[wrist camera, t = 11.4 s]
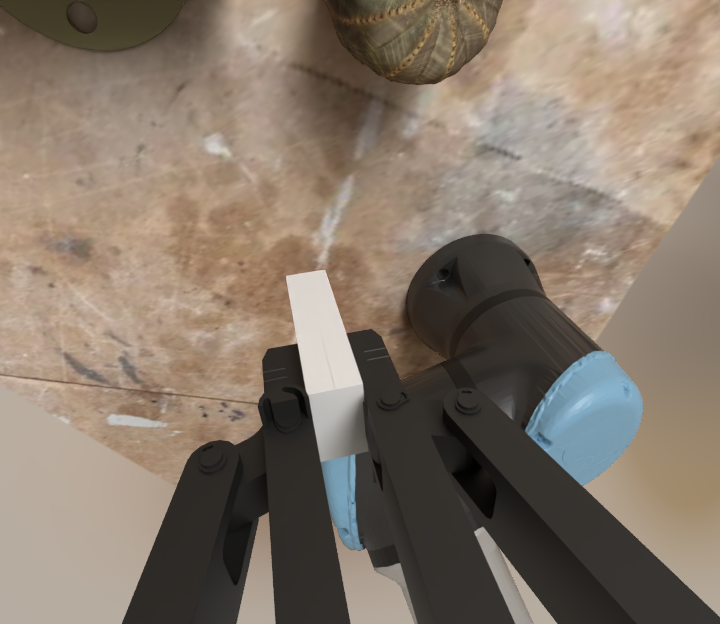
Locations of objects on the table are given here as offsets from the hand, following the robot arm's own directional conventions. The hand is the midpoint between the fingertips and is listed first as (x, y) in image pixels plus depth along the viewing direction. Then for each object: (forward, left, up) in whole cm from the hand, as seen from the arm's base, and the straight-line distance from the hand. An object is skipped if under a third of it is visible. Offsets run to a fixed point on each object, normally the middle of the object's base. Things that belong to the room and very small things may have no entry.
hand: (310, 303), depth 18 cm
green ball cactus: (+10, -10, -26) cm, 30 cm away
